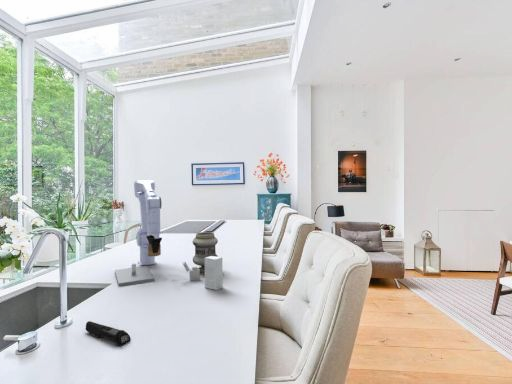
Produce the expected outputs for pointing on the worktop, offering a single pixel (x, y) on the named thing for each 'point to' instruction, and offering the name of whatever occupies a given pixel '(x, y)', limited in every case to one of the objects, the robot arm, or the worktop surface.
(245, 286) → the worktop surface
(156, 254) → the walnut bead
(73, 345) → the worktop surface
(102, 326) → the electric trimmer
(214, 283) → the skincare box
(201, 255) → the apothecary jar
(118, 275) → the grey peg base
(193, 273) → the lighter
